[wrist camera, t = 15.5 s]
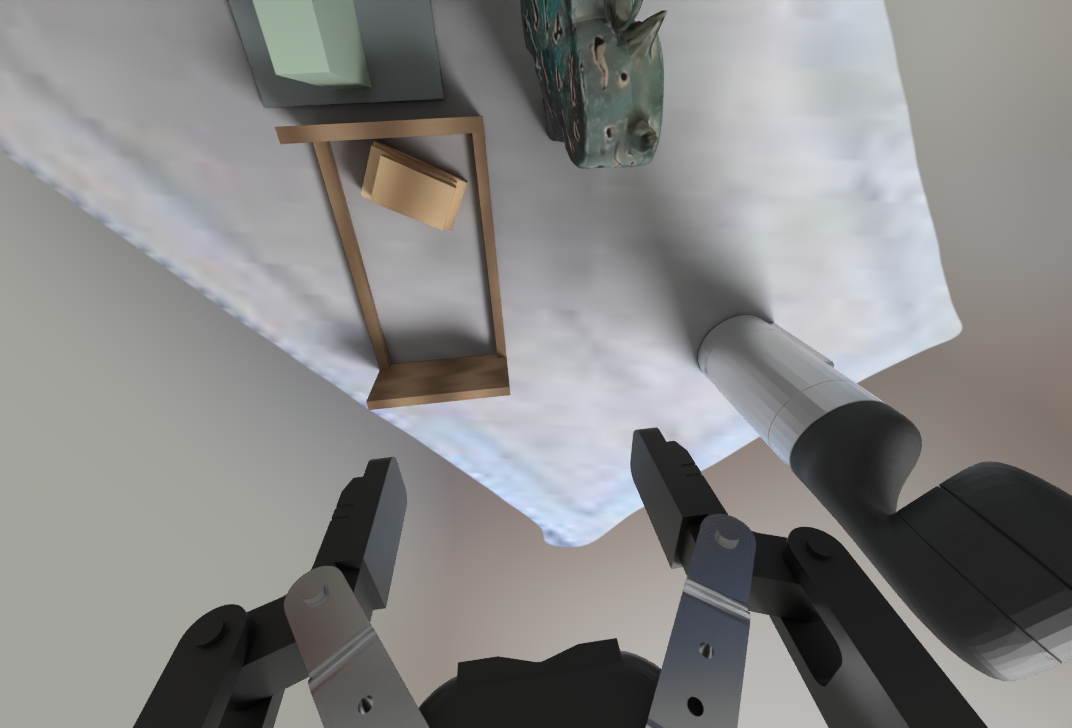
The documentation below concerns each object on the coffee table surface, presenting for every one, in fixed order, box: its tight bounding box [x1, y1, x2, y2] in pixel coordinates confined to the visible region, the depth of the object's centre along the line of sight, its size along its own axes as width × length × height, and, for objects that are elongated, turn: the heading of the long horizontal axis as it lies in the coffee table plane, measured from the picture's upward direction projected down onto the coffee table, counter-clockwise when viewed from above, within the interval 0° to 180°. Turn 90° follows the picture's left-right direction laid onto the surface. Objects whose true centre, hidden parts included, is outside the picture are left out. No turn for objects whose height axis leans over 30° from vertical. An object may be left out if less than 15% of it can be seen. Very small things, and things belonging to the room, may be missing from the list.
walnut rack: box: [275, 116, 510, 410], centre depth 36 cm, size 14×24×7 cm, turn 3°
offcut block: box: [361, 141, 467, 230], centre depth 34 cm, size 8×4×4 cm, turn 66°
